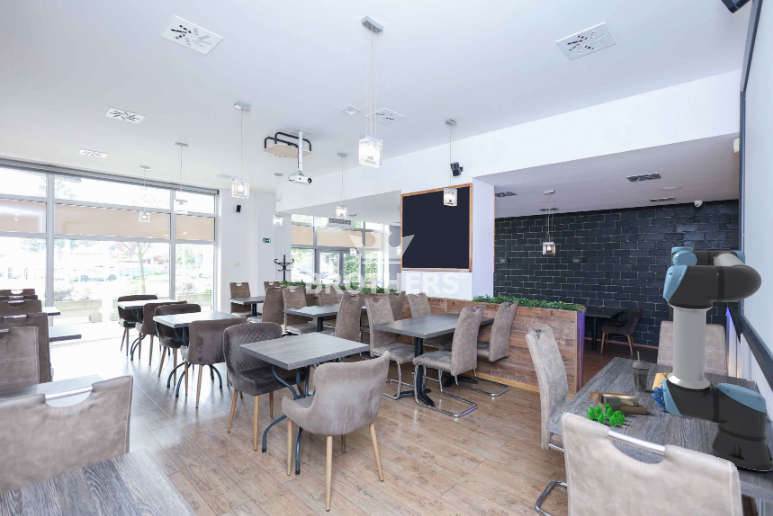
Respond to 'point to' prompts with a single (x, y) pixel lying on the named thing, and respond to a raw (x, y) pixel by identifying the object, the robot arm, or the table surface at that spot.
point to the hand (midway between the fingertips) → (681, 335)
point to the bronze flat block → (617, 403)
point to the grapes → (659, 397)
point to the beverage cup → (640, 374)
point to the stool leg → (622, 399)
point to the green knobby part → (609, 414)
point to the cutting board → (659, 379)
